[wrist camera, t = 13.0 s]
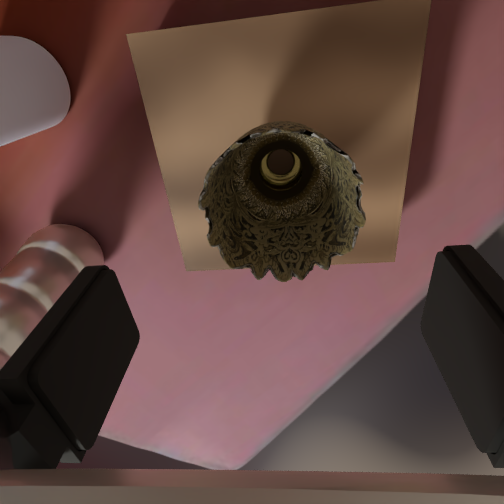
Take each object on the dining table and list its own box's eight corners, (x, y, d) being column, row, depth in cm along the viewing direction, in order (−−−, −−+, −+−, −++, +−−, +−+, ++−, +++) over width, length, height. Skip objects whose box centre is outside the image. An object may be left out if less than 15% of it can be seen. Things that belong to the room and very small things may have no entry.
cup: (339, 208, 23) (364, 278, 16) (234, 219, 24) (216, 289, 17) (339, 90, 19) (371, 118, 12) (213, 108, 20) (180, 142, 13)
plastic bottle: (72, 202, 30) (-196, 411, 13) (126, 257, 33) (-38, 487, 16) (29, 236, 32) (-246, 450, 15) (83, 284, 35) (-100, 510, 18)
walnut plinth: (154, 35, 23) (126, 34, 19) (401, 2, 21) (432, -7, 17) (199, 239, 31) (186, 271, 27) (378, 229, 29) (394, 261, 25)
